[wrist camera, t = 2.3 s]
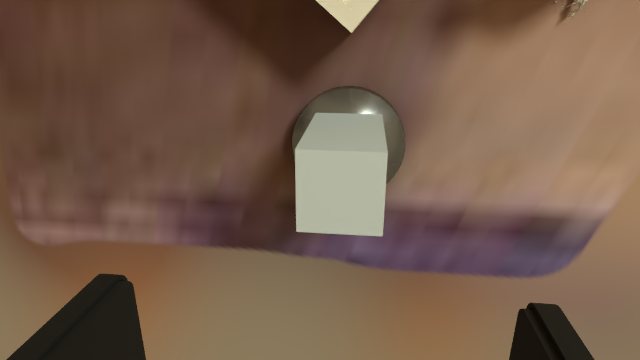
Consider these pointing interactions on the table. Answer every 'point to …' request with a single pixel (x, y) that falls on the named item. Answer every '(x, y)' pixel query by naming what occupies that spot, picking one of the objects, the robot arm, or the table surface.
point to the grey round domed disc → (357, 103)
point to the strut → (341, 175)
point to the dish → (349, 11)
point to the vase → (581, 3)
